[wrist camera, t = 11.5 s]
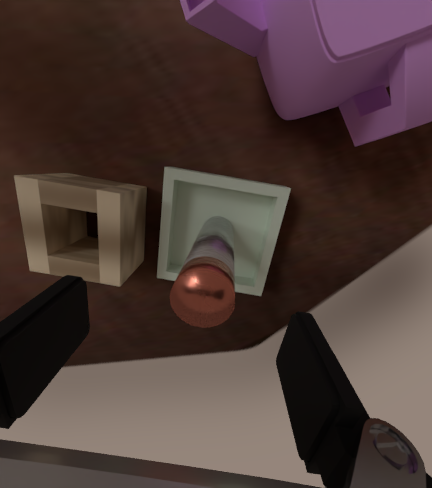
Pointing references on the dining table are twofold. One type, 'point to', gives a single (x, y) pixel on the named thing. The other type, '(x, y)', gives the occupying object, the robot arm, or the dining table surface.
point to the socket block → (82, 226)
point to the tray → (225, 205)
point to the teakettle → (334, 56)
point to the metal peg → (207, 277)
